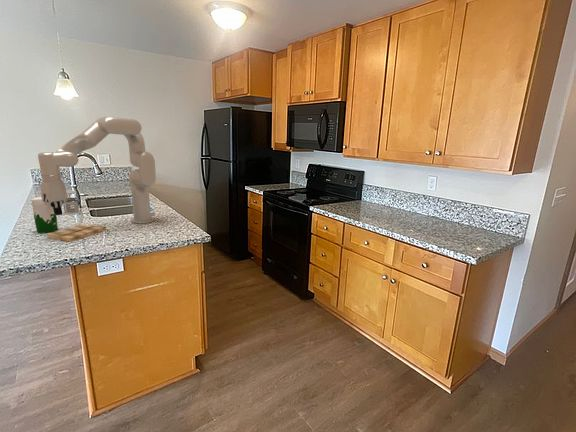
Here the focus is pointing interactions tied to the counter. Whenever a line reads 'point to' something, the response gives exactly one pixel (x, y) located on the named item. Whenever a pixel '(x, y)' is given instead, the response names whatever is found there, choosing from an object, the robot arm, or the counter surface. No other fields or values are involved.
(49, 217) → the milk carton
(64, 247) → the counter surface
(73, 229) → the tan wooden board
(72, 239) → the laid floor row
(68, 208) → the french press
